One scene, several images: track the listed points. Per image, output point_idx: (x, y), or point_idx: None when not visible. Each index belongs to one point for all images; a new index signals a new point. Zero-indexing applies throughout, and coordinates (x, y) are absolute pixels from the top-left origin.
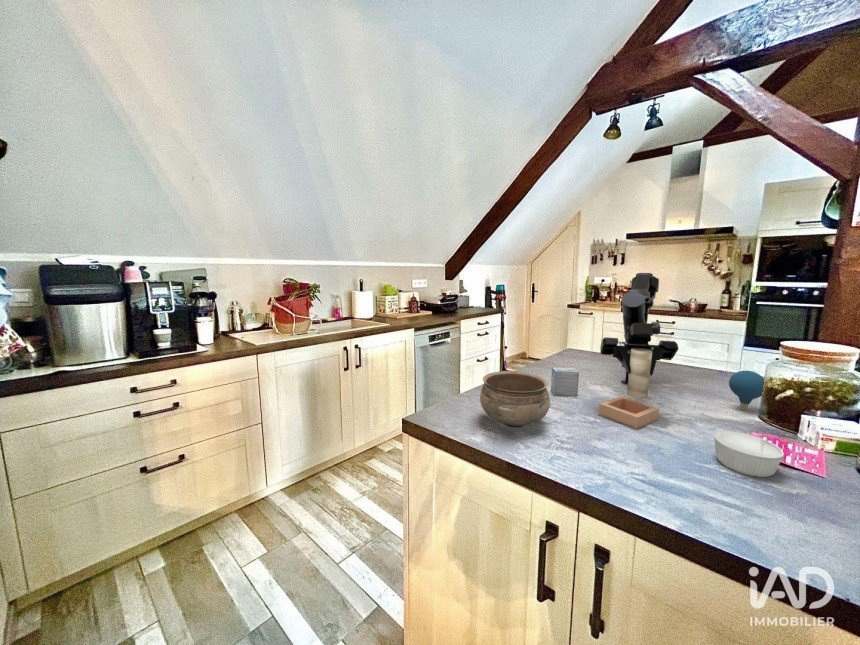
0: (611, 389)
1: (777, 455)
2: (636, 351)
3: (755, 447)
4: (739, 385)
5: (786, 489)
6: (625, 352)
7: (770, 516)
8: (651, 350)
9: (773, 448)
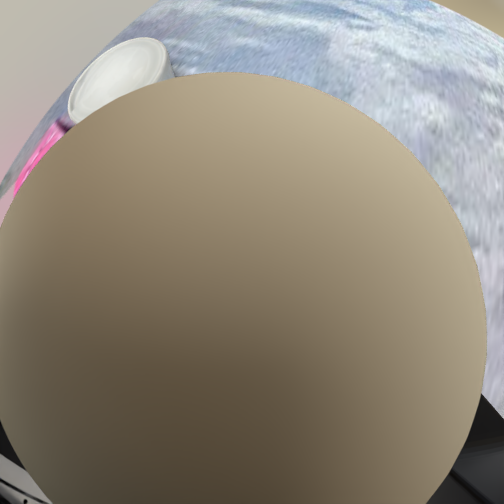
0: None
1: (98, 62)
2: (381, 126)
3: (112, 66)
4: None
5: None
6: (482, 457)
7: (204, 3)
8: (7, 486)
9: (77, 95)
